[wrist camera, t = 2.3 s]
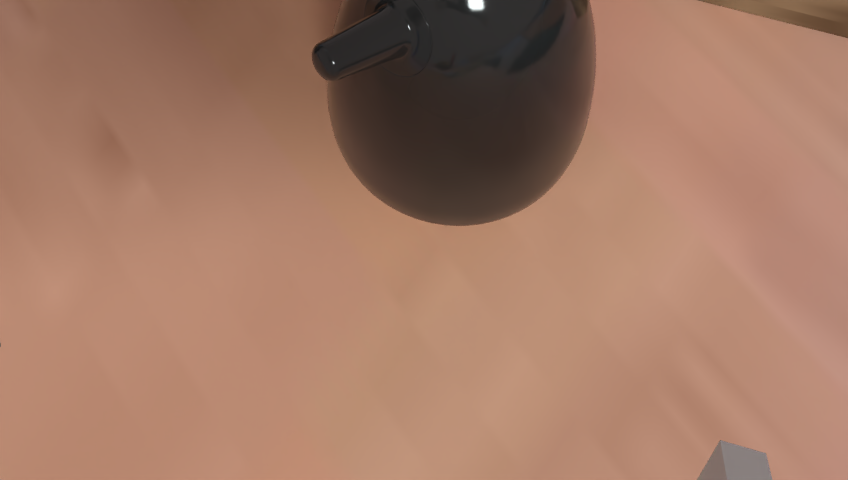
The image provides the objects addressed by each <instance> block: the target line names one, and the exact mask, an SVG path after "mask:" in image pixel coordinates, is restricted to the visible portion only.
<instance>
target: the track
mask: <svg viewBox="0 0 848 480" xmlns="http://www.w3.org/2000/svg"><path fill="white" fill-rule="evenodd" d="M699 1H703V2H707V3H711V4H715V5H719V6H723V7H727V8H731V9H735V10H739V11H743V12H747V13H751V14H755V15H759V16H763V17H767V18H771V19H775V20H779V21H783V22H787V23H791V24H795V25H799V26H803V27H806V28H810V29H814V30H818V31H822V32H826V33H830V34H834V35H838V36H842V37H846V38H848V0H699Z"/></svg>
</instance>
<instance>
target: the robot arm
mask: <svg viewBox="0 0 848 480" xmlns="http://www.w3.org/2000/svg"><path fill="white" fill-rule="evenodd" d="M0 346H1V344H0ZM697 480H772V476H771V472H770V468H769V464H768V460H767V456H766V453H763V452H759V451H756V450H753V449H749V448H746V447H742V446H739V445H735V444H732V443H728V442H725V441H721V440H720V441H719V443H718V445H717V446H716V448H715V450H714V452H713V453H712V455H711V457H710V458H709V460H708V462H707V464H706V465H705V467H704V469H703V470H702V472H701V474H700V476H699V477H698V479H697Z"/></svg>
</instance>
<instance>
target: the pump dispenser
mask: <svg viewBox="0 0 848 480" xmlns="http://www.w3.org/2000/svg"><path fill="white" fill-rule="evenodd" d="M312 61H313V64H314V67H315V69H316V71H317V72H318V73H319V75H320V76H321V77H323V78H324V79H326V80H327V98H328V109H329V115H330V120H331V125H332V129H333V132H334V136H335V139H336V141H337V144H338V147H339V149H340V151H341V153H342V155H343V157H344V159H345V161H346V163H347V164H348V166H349V168H350V169H351V171H352V172H353V173H354V175H355V176H356V177H357V179H358V180H359V181H360V182H361V183H362V184H363V185H364V186H365V187H366V188H367V189H368V190H369V191H370V192H371V193H372V194H373V195H374V196H376V197H377V198H378V199H379V200H381V201H382V202H384V203H385V204H387V205H388V206H390V207H392V208H393V209H395V210H397V211H399V212H401V213H403V214H405V215H408V216H410V217H413V218H415V219H418V220H422V221H425V222H430V223H435V224H441V225H450V226H469V225H478V224H484V223H489V222H493V221H496V220H500V219H503V218H505V217H508V216H511V215H513V214H515V213H517V212H519V211H521V210H523V209H525V208H526V207H528V206H530V205H531V204H533V203H534V202H536V201H537V200H538V199H540V198H541V197H542V196H543V195H544V194H545V193H547V192H548V191H549V190H550V189H551V188H552V187H553V186H554V185H555V184H556V182H557V181H558V180H559V179H560V178H561V176H562V175H563V174H564V172H565V171H566V169H567V168H568V166H569V165H570V163H571V161H572V159H573V158H574V156H575V154H576V152H577V150H578V148H579V145H580V143H581V141H582V138H583V135H584V132H585V129H586V126H587V122H588V118H589V113H590V109H591V103H592V97H593V91H594V83H595V73H596V38H595V28H594V20H593V14H592V8H591V4H590V0H342V3H341V6H340V9H339V12H338V15H337V19H336V22H335V26H334V30H333V34H332V36H330V37H328V38H327V39H325V40H323V41H321V42H319V43H318V44H316V45H315V47H314V48H313V51H312Z"/></svg>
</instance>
